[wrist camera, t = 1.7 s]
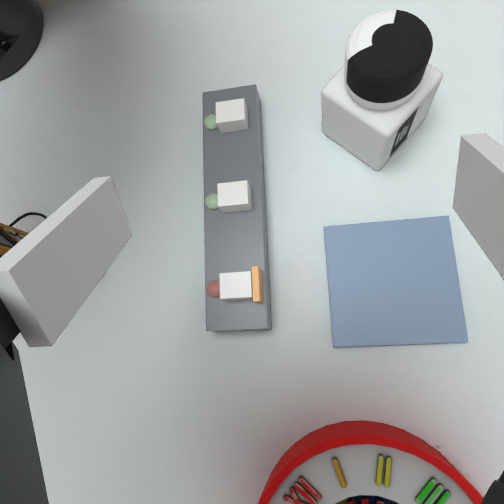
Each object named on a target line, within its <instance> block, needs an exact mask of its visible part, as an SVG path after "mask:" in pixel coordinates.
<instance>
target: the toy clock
mask: <svg viewBox="0 0 504 504" xmlns="http://www.w3.org/2000/svg"><path fill="white" fill-rule="evenodd" d="M482 500H483V497H482V496H481V494H480V493H479V492H478V491H477V490H476V489H475V488H474V487H473V486H472V485H471V484H470V483H469V482H468V481H467V480H466V479H465V477H464V476H463V475H462V474H461V473H460V472H459V471H458V470H457V469H456V468H455V467H454V466H453V465H452V464H451V463H450V462H449V461H448V460H447V459H446V458H445V457H444V456H443V455H442V454H441V453H440V452H438V451H437V450H436V449H434V448H433V447H432V446H430V445H429V444H428V443H426V442H425V441H423V440H422V439H420V438H418V437H416V436H414V435H412V434H410V433H409V432H407V431H405V430H403V429H399V428H396V427H393V426H390V425H387V424H384V423H377V422H370V421H344V422H340V423H335V424H331V425H327V426H324V427H322V428H320V429H318V430H315V431H313V432H311V433H309V434H308V435H306V436H305V437H303V438H302V439H300V440H299V441H298V442H296V443H295V444H294V445H293V446H292V447H291V448H290V449H289V450H288V451H287V452H286V453H285V454H284V455H283V456H282V457H281V459H280V460H279V462H278V463H277V465H276V466H275V468H274V469H273V471H272V472H271V474H270V477H269V479H268V481H267V483H266V486H265V488H264V490H263V493H262V495H261V498H260V500H259V502H258V504H481V502H482Z"/></svg>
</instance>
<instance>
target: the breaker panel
mask: <svg viewBox="0 0 504 504" xmlns="http://www.w3.org/2000/svg"><path fill="white" fill-rule="evenodd" d="M203 158H204V227H205V295H206V331H213V332H217V331H238V330H260V329H272V325H271V305H270V285H269V266H268V246H267V226H266V206H265V186H264V166H263V146H262V126H261V106H260V98H259V94H258V91H257V87H256V85H250V86H243V87H237V88H230V89H224V90H217V91H210V92H204V93H203Z"/></svg>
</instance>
